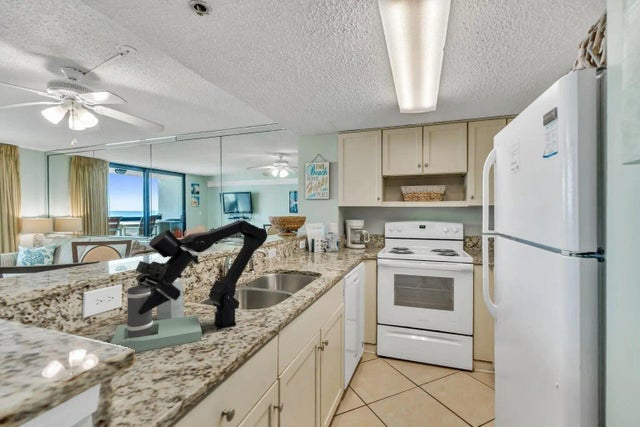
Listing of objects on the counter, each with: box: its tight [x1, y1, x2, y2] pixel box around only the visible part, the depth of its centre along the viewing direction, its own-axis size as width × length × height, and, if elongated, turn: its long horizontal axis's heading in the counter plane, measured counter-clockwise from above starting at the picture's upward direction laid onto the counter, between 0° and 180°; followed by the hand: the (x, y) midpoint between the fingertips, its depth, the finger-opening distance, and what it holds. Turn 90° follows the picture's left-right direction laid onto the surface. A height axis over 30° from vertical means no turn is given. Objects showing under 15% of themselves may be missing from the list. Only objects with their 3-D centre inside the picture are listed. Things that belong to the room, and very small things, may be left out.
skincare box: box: [155, 278, 185, 320], centre depth 108 cm, size 8×6×15 cm
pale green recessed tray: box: [110, 314, 203, 353], centre depth 92 cm, size 24×16×3 cm, turn 118°
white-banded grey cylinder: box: [126, 285, 154, 339], centre depth 81 cm, size 6×6×13 cm
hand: (134, 311), depth 80 cm, fingers closed on white-banded grey cylinder, 6 cm apart
